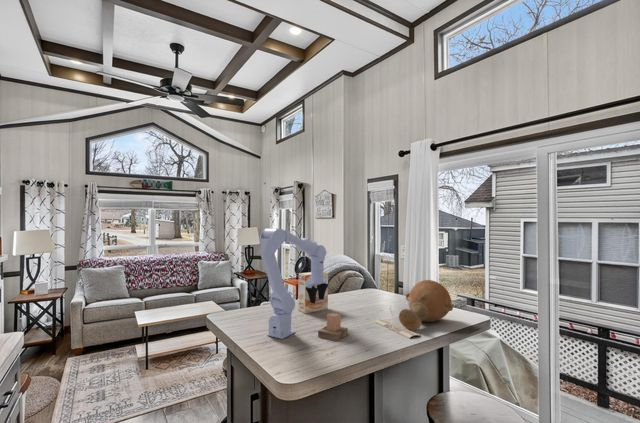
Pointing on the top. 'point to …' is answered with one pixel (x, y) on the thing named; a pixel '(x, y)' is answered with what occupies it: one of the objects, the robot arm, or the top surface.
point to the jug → (425, 304)
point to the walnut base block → (332, 333)
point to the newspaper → (396, 328)
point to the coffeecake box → (303, 295)
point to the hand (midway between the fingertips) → (317, 301)
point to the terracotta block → (333, 321)
